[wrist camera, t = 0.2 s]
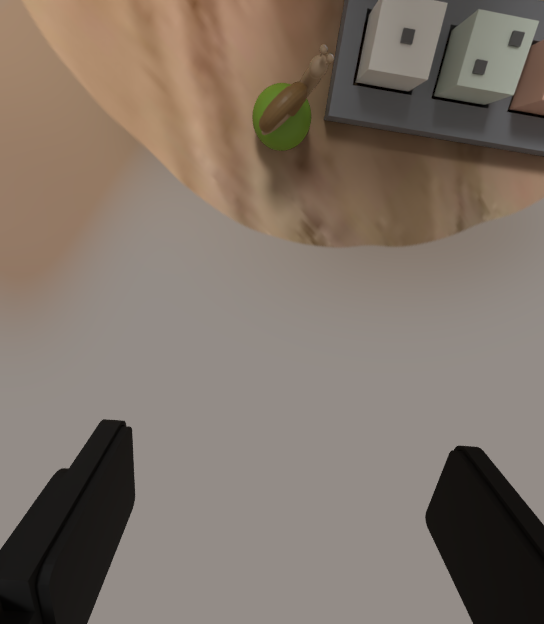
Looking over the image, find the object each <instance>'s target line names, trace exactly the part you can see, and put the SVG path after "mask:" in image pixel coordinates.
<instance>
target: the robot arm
mask: <svg viewBox="0 0 544 624" xmlns="http://www.w3.org/2000/svg"><path fill="white" fill-rule="evenodd" d="M134 501H135V483H134V462H133V440H132V428H131V427H126V423H125V421H118V420H102V421H101V422H100V423H99V425H98V426H97V428H96V429H95V431H94V432H93V434H92V435H91V437H90V438H89V439H88V441H87V443H86V444H85V445H84V447H83V448H82V450H81V451H80V453H79V455H78V456H77V457H76V459H75V460H74V462H73V463H72V465H71V466H70V468H69V469H65V468H64V469H60V470H59V471H57V472H56V473H55V474H54V475H53V477H52V478H51V479H50V481H49V482H48V483H47V485H46V486H45V488H44V489H43V490H42V492H41V493H40V495H39V496H38V498H37V499H36V500H35V502H34V503H33V505H32V506H31V507H30V509H29V510H28V512H27V513H26V514H25V516H24V517H23V519H22V520H21V522H20V523H19V524H18V526H17V527H16V529H15V530H14V531H13V533H12V534H11V536H10V537H9V538H8V540H7V541H6V543H5V544H4V545H3V547H2V548H1V550H0V624H87V623H88V620H89V617H90V615H91V613H92V610H93V608H94V605H95V602H96V600H97V597H98V595H99V592H100V590H101V587H102V585H103V582H104V580H105V577H106V575H107V572H108V569H109V567H110V565H111V562H112V559H113V557H114V554H115V552H116V550H117V547H118V545H119V542H120V539H121V537H122V534H123V532H124V529H125V526H126V524H127V522H128V519H129V517H130V514H131V512H132V509H133V506H134ZM425 518H426V524H427V527H428V529H429V531H430V533H431V536H432V538H433V540H434V542H435V544H436V546H437V548H438V550H439V552H440V554H441V556H442V559H443V561H444V563H445V565H446V567H447V569H448V571H449V574H450V575H451V578H452V580H453V582H454V584H455V586H456V588H457V590H458V592H459V595H460V597H461V599H462V601H463V603H464V605H465V607H466V609H467V611H468V614H469V616H470V618H471V620H472V622H473V624H544V525H543V524H542V522H541V521H540V520H539V519H538V518H537V516H536V515H535V514H534V513H533V511H532V510H531V509H530V508H529V507H528V505H527V504H526V503H525V502H524V500H523V499H522V498H521V497H520V495H519V494H518V493H517V492H516V491H515V489H514V488H513V487H512V486H511V484H510V483H509V482H508V481H507V480H506V478H505V477H504V476H503V475H502V473H501V472H500V471H499V470H498V468H497V467H496V466H495V465H494V464H493V462H492V461H491V460H490V459H489V457H488V456H487V455H486V454H485V453H484V451H483V450H482V449H481V448H479V447H471V446H470V447H469V446H457V447H456V448H455V449H454V451H451V452H450V453H449V456H448V458H447V461H446V463H445V466H444V468H443V471H442V473H441V476H440V478H439V481H438V483H437V486H436V489H435V491H434V494H433V496H432V499H431V501H430V504H429V506H428V509H427V511H426V517H425Z"/></svg>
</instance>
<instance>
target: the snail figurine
mask: <svg viewBox="0 0 544 624" xmlns="http://www.w3.org/2000/svg"><path fill="white" fill-rule="evenodd" d="M327 51H328V48H327V46H326V45H324V44H323V45H321V47H320V53H321V55H317V56H315V57H314V58H313V59H312V60H311V62H310V64H309V67H308V69H307V70H306V71H305V73H304V75H303V77H302V79H301V81H300V82H295V83H293V84H287V83H277V84H274V85H271V86H269V87H268V88H266V89H265V90H264V91H263V92H262V93H261V94H260V95H259V97H258V99H257V100H256V103H255V105H254V109H253V126H254V129H255V132H256V134H257V136H258V138H259V139H260V140H261V141H262V143H264V144H265V145H266V146H267V147H269V148H271V149H274V150H279V151H284V150H289V149H292V148H294V147H295V146H297V145H298V144H299V143H301V142H302V140H303V139H304V138H305V136H306V135H307V133H308V130H309V127H310V123H311V110H310V105H309V103H308V100H307V97H308V95H309V94H310V92H311V91H312V90H313V89H314V88H315V87H316V86H317V84H318V83H319V81H320V79H321V77H322V76H323V75H324V74H325V73H326V71H327V69H328V63H332V62H333V61H334V56H333V55H332V54H331V53H330V54H328V55H327V57H326V56H324V55H325V54H326V53H327Z"/></svg>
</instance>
